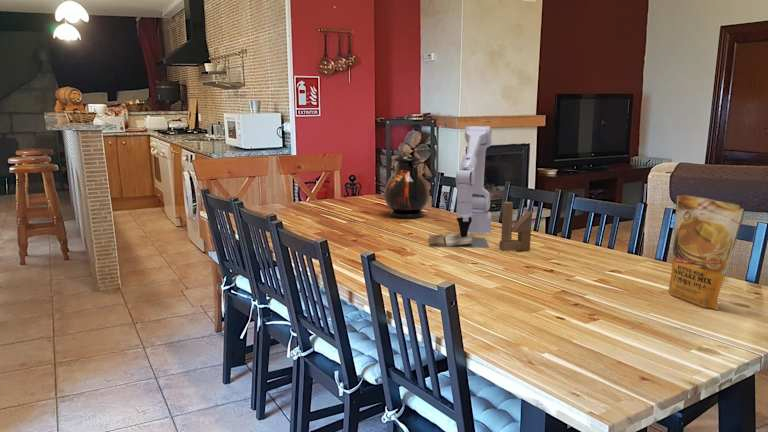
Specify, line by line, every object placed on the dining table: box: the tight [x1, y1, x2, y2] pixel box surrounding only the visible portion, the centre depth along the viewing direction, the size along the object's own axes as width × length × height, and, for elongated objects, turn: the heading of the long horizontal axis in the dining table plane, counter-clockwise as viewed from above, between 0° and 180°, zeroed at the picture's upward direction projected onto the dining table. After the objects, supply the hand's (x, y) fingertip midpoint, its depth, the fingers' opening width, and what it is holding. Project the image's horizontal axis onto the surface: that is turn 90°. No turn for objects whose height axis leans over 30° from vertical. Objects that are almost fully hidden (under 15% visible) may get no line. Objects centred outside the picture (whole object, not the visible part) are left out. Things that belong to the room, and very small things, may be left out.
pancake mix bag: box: [667, 194, 745, 311], centre depth 154 cm, size 7×19×28 cm, turn 19°
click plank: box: [444, 232, 473, 246], centre depth 221 cm, size 10×14×1 cm
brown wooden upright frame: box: [498, 201, 533, 252], centre depth 210 cm, size 4×11×18 cm, turn 104°
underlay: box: [429, 237, 490, 249], centre depth 221 cm, size 22×16×1 cm
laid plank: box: [428, 234, 446, 247], centre depth 222 cm, size 6×14×1 cm, turn 176°
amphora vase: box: [384, 156, 430, 219], centre depth 275 cm, size 22×22×28 cm
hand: (463, 236), depth 221 cm, fingers closed, pressing on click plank
